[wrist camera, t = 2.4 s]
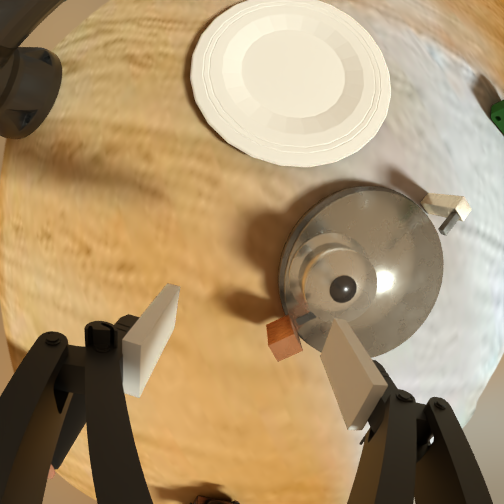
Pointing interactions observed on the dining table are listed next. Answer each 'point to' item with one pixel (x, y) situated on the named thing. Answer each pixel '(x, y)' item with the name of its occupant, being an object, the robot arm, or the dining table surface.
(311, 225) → the turntable
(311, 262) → the cover
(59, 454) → the coffee jar
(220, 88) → the plate
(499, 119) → the clamp
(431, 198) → the turntable base
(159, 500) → the dining table surface
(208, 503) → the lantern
